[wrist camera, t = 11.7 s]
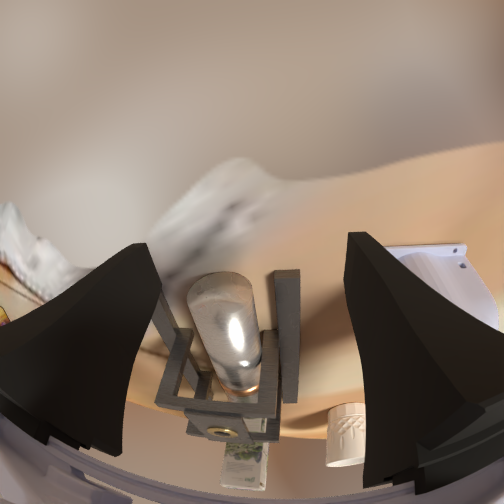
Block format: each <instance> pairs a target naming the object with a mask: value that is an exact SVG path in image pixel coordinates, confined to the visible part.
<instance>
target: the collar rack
mask: <svg viewBox="0 0 504 504" xmlns="http://www.w3.org/2000/svg"><path fill="white" fill-rule="evenodd" d="M274 283H275V295H276V307H277V320H278V330H264V335H263V347H262V358H261V370H260V381H259V391H258V402H257V403H235V402H221V401H210V400H212V399H213V393H212V391H211V390H210V388H211V383H212V378H213V374H212V372H207V371H200V369H199V368H198V366H197V364H196V362H195V360H194V358H193V356H192V354H191V352H190V348H191V344H192V341H193V338H194V333H193V330H192V329H187V328H179V327H178V325H177V323H176V321H175V319H174V317H173V314H172V312H171V310H170V308H169V305H168V303H167V301H166V299H165V296H164V294H163V292H162V289H161V291H160V295H159V298H158V302H157V305H156V308H155V311H154V313H153V316H152V318H151V319H152V321H153V323H154V325H155V327H156V328H157V330H158V332H159V334H160V336H161V337H162V339H163V341H164V343H165V344H166V346H167V348H168V350H169V351H170V355H169V358H168V361H167V364H166V368H165V371H164V374H163V377H162V380H161V383H160V386H159V389H158V393H157V396H156V399H155V402H154V403H155V404H156V405H157V406H158V407H162V408H168V409H173V410H179V411H184V414H185V416H186V417H187V418H188V419H189V422H188V426H187V430H186V433H187V434H188V435H191V436H198V437H205V438H208V439H209V440H212V441H220V442H230V443H242V444H254V442H263V443H279V437H280V419H281V398H282V392H283V403H297V397H298V377H299V349H300V269H299V270H275V271H274ZM279 346H280V361H281V374H278V365H279ZM183 374H184V376H185V378H186V379H187V381H188V382H189V384H190V385H191V387H192V388H193V390H194V391H195V395H194V399H192V398H184V397H177V394H178V391H179V387H180V383H181V380H182V376H183ZM243 417H245V418H267V421H266V433H261V432H249V430H248V428H247V426H246V424H245V422H244V419H243Z"/></svg>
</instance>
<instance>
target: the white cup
mask: <svg viewBox="0 0 504 504" xmlns="http://www.w3.org/2000/svg"><path fill="white" fill-rule="evenodd" d="M365 441H366V414H365V404H364V403H359V402H353V403H346V404H342V405H338V406H336V407H334V408H332V409H330V411H329V412H328V428H327V449H326V466H329V467H340V466H349V465H355V464H360V463H364V459H365Z"/></svg>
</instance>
